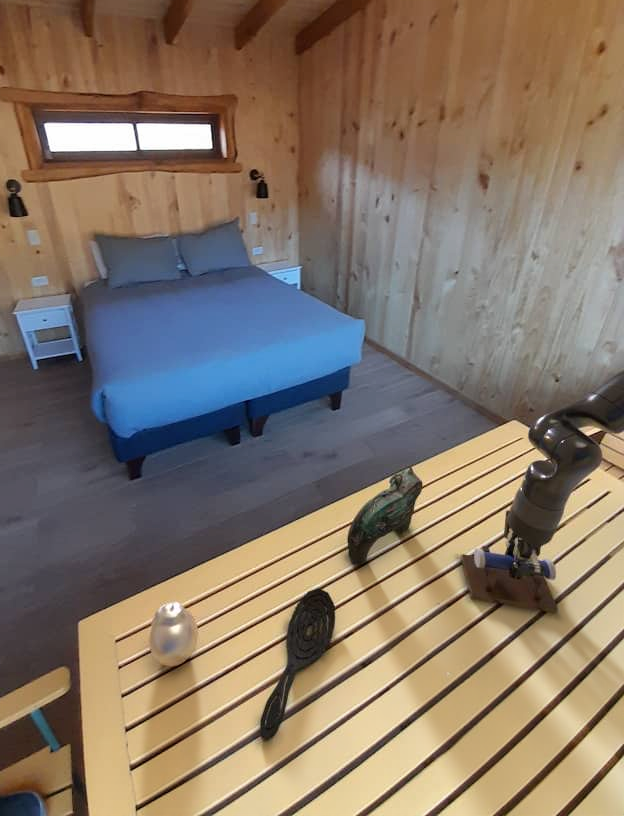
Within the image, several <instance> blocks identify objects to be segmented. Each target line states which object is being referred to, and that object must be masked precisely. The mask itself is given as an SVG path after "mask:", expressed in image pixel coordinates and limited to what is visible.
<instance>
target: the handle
mask: <svg viewBox="0 0 624 816" xmlns="http://www.w3.org/2000/svg"><path fill="white" fill-rule="evenodd" d="M473 554H474V555H473V556H474V560H475V564H476V566H477V567H478V568H484V567H490V568H496V569H502V570H508V571H510V569H511V566H512V564H513V562H514V558H515V557H514V556H509V555H504V554H502V553H496V552H483V550H482V548H475V549H474V552H473ZM520 562H523V563H524V562H525V561H520ZM538 562H539V564H540V565H543V566H544V568H545V573H542V574H540V575H539V576H544V577H545V580H551V581H554V580H555V579H556V577H557V569H556V565H555V563H554V562H553V560H552V559H547V558H543V559H542V560H540V559H538Z"/></svg>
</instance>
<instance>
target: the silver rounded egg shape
mask: <svg viewBox="0 0 624 816" xmlns="http://www.w3.org/2000/svg"><path fill="white" fill-rule="evenodd" d="M198 636H199V627H198V622H197V619H196V618H195V616H194V615H193V613H192V612H191V611H190V610H188V609H186V608H185V607H184V605H183V604H182V603H181V602H179V601H171V602H168V603H164V604H162V605H161V606H160V607H158V609H157V610H156V612H155V613H154V617H153V618H152V620H151V623H150V631H149V636H148V641H149V642H148V644H149V650H150V653H151V655H152V657H153V658H154V659H155V661H157V662H158V663H159V664H160V665H163V666H165V667H176V666H179V665H181V664H182V663H184V662H185V661H187V660H188V659H189V658H190V656H191V655H192V654H193V652H194V650H195V648H196V647H197V643H198V639H199V637H198Z"/></svg>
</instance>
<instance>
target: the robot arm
mask: <svg viewBox="0 0 624 816" xmlns="http://www.w3.org/2000/svg"><path fill="white" fill-rule="evenodd" d="M586 427H593V428H596V429H599V430H601V431H603V432H606V433H608V434H612V435H618V434H621V433H624V369H622V370H620V371H618V372H616V373H615V374H613V375H612V376H610V377H608V379H606V380H605V381H604V382H602V383H601V384H599V385H598V386H597V387H596V388H595V389H593V390H592V391H591V392H590V393H589V394H587V395H586V396H584V397H582V398H581V399H578V400H576V401H573V402H571V403H569V404H567V405H565V406H562V407H560V408H557V409H556V410H553V411H550V412H548V413H546V414H544V415H542V416H540V417H539V418H537V419H535V421H534V422H532V424H531V426H530V427H529V429H528V433H527V438H528V442H529V443H530V444H531V446H532V447H533V448H535V449H536V450H537V451H538V452H539V453H541V454H542V455H543V457H545V459H547V460H545V459H544V460H543V459H541V460H540V459H539V460H535V461H532V462H531V463H530V464H529V465H528V467H527V469H526V471H525V474H524V476H523V479H522V482H521V484H520V486H519V488H518V489H517V491H516V493H515V496H514V499H513V501H512V503H511V506H510V509H509V510H506V511H505V520H504V530H503V537H504V539H507V540H506V542H505V546H506V549H505V552H504V554H503V555H509V556H514V557H515V558H514V562H513V564H512V566H511V569H510V571H509V576H510V578H513V579H518V580H522V577H523V575H524V576H530V577H534V576H537V575H540V574H542V573H545V568H544V566H543V565H540V564H539V562H538V560H539V556H540V555H541V548H542V547H544V546H546V545H547V544H549V543H550V542H551V541H552V539H553V538H554V535H555V534H556V531H557V529H558V528H559V525H560V523H561V521H562V518H563V516H564V512H565V508H566V505H567V503H568V501H569V499H570V497H571V495H572V492H573V491H574V490H575V489H576V488H577V487H578V486H579V485H580V484H581V483H582V482H583V480H585V479H586V478H588V477H589V476H590V475H591V474H592V473H593V472H595V471H596V470H597V469H598V468H599V467H600V466H601V465H602V462H603V451H602V448H601V446H600V445H599V444H598V442H597V441H595V440H594V439H593V438H592V437H590V436H588V435H587V434H586V433H585V432H584V431H582V430H581V429H583V428H586ZM520 561H525V562H524V563H523V562H520Z"/></svg>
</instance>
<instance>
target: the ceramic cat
mask: <svg viewBox="0 0 624 816" xmlns="http://www.w3.org/2000/svg"><path fill="white" fill-rule="evenodd" d="M388 483H389V484H390V486H389V488H386V489H384V490H382V491H380V492H379V493H377V494H376V495H375V496H373V497H372V498H371V499H369V500H368V501H367V502H366V503H365V504H364V505H362V507H361V508H360V509H359V511H358V512H357V514H355V516H354V518H353V520H352V522H351V524H350V526H349V529H348V531H347V538H346V541H347V550H348V558H349V559H350V560H351V561H352V562H353V563H354V564H355V565H356V566H358V565H360V564H362V563H363V562H365V560H367V558H368V554H369V552H370V550H371V548H372V547H373V545H374V544H375V543H376V542H377V541H378V540H379V539H381V538H383V537H385V536H387V535H388V534H390V533H393V532H395V531H396V532H397V533H398V534H399V535H402V534H403V533H404V532H405V531H407V530H409V529H410V525H411V523H412V519H413V515H414V512H415V506H416V502H417V499H418V498H419V496H420V495H421V494H422V490H423V481H422V479H421V478H420V477H419V476H418V475H417V474H416V473H415V472H414V470H413V467H412V466H409V468H408V469H404V470H401V471H400V472H399V473H396V474H395V473H394V475H392V476H391V477H390V479H389V482H388Z"/></svg>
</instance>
